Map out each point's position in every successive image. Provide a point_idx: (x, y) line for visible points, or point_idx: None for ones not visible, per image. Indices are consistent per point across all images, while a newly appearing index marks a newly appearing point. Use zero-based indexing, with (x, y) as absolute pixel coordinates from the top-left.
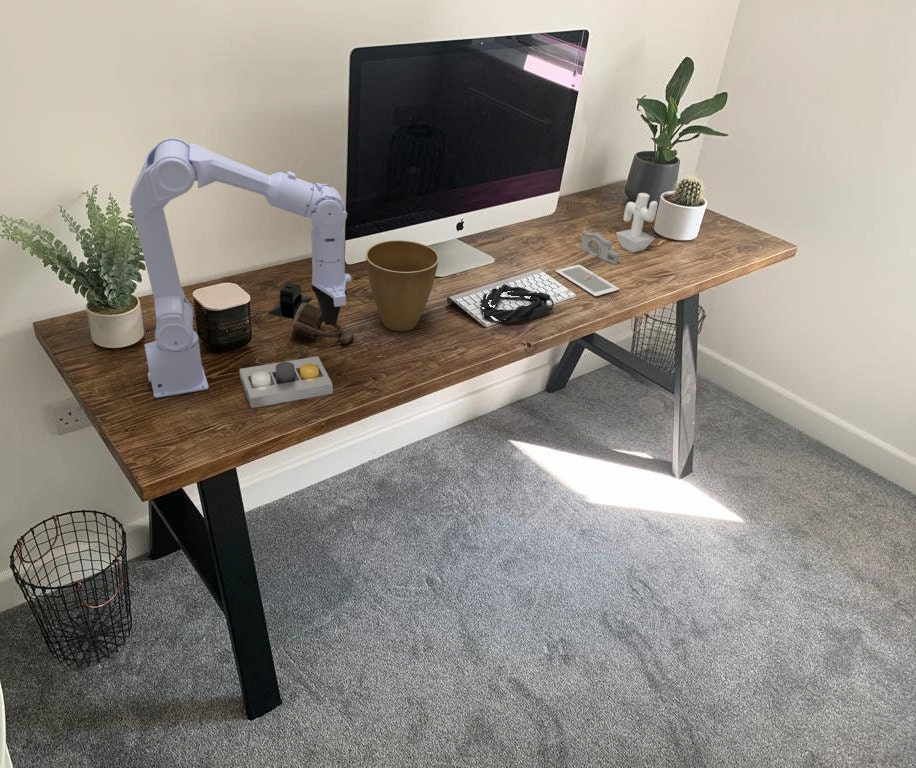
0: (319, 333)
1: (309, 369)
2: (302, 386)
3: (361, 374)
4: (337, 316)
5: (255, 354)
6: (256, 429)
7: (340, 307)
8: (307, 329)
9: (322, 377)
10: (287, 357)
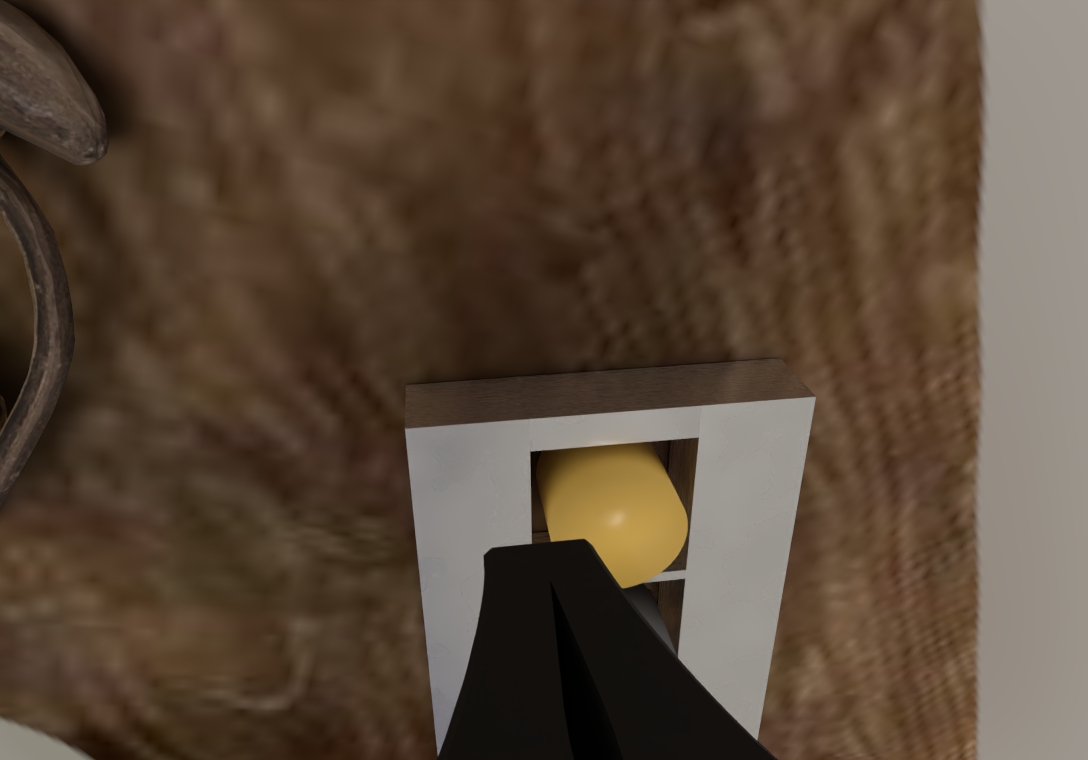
0: (59, 389)
1: (635, 536)
2: (758, 570)
3: (622, 88)
4: (635, 612)
5: (178, 710)
6: (889, 721)
7: (747, 735)
8: (5, 496)
9: (712, 447)
10: (245, 554)
